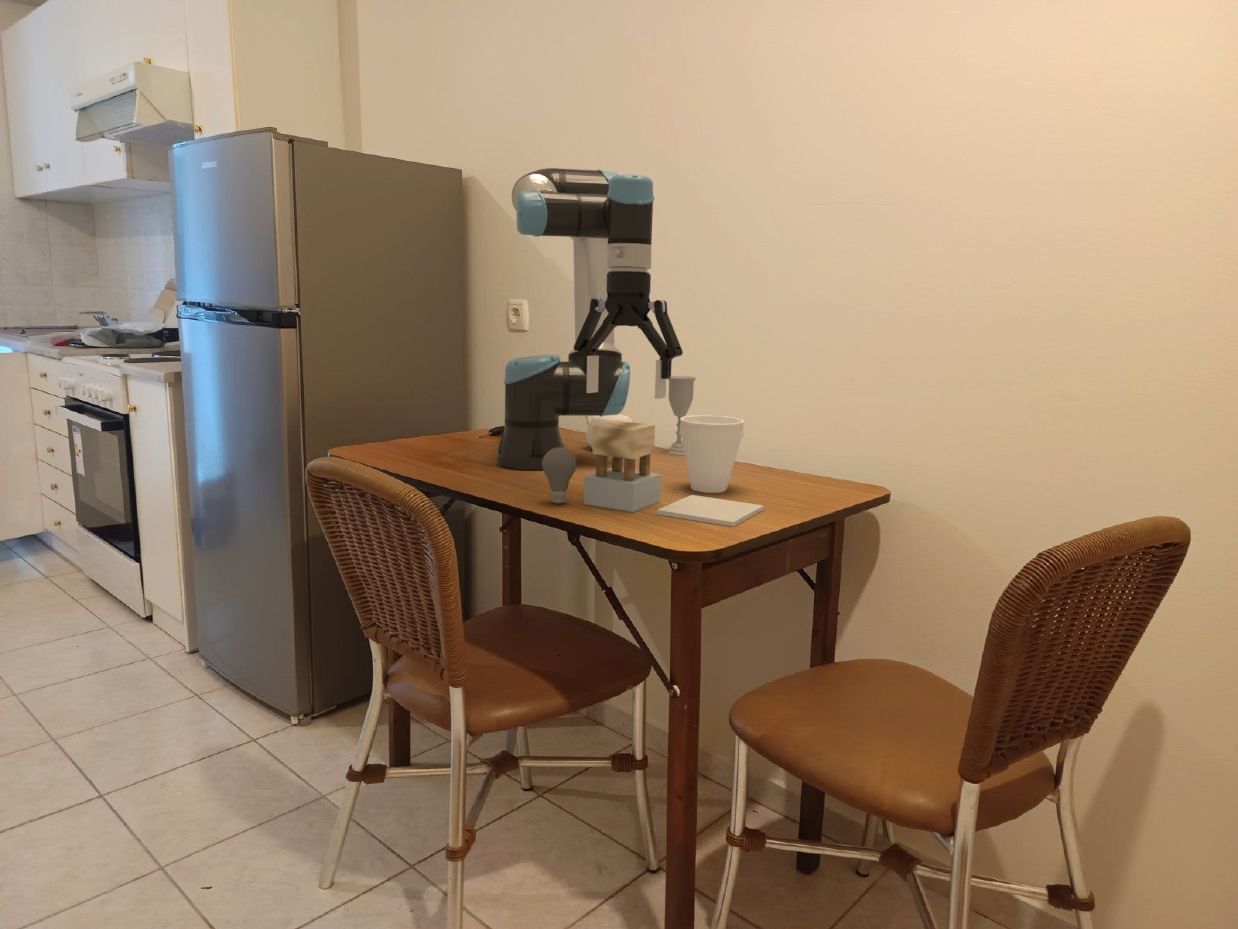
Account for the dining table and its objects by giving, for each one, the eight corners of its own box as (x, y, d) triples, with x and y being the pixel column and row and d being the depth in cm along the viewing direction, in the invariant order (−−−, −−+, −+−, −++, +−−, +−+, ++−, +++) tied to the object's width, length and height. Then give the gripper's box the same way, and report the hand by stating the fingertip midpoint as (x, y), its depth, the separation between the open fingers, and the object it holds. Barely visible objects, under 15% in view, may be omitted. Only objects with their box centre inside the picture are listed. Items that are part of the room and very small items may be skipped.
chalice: (690, 456, 203) (694, 379, 200) (662, 454, 205) (664, 378, 201) (694, 451, 210) (697, 376, 207) (666, 449, 212) (669, 375, 208)
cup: (751, 494, 166) (755, 423, 163) (690, 497, 162) (693, 424, 159) (725, 481, 177) (728, 414, 174) (668, 483, 174) (670, 415, 171)
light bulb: (548, 508, 151) (548, 451, 149) (537, 500, 156) (537, 445, 154) (580, 505, 153) (581, 449, 151) (568, 498, 158) (569, 444, 157)
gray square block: (583, 504, 154) (584, 476, 153) (612, 493, 163) (612, 467, 162) (633, 512, 150) (634, 483, 149) (659, 501, 158) (660, 474, 157)
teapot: (563, 445, 214) (564, 404, 212) (601, 440, 222) (602, 401, 220) (619, 458, 200) (620, 413, 198) (657, 452, 208) (658, 410, 206)
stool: (592, 476, 154) (593, 425, 152) (614, 469, 161) (616, 420, 159) (631, 482, 150) (633, 430, 148) (653, 474, 157) (655, 424, 155)
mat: (656, 514, 149) (656, 509, 148) (691, 499, 160) (691, 494, 160) (733, 526, 142) (733, 522, 142) (763, 509, 154) (764, 505, 154)
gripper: (555, 269, 151) (554, 391, 155) (685, 269, 139) (680, 402, 143) (578, 271, 158) (576, 388, 162) (705, 271, 146) (699, 398, 150)
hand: (625, 395), depth 152 cm, fingers open, 13 cm apart
